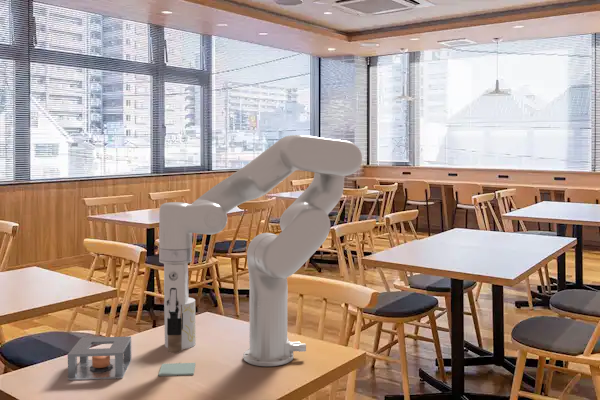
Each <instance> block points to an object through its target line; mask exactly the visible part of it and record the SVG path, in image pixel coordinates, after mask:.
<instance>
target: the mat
mask: <svg viewBox="0 0 600 400" xmlns="http://www.w3.org/2000/svg"><path fill="white" fill-rule="evenodd" d="M195 368H196V362H181V363H180V362H179V363H178V362H176V363H175V362H174V363H173V362H172V363H170V362H169V363H162V364H161V366H160V369H159V372H158V377H172V376H175V377H177V375H178V376H194V374H195Z"/></svg>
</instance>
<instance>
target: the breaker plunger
mask: <svg viewBox="0 0 600 400" xmlns="http://www.w3.org/2000/svg"><path fill="white" fill-rule="evenodd" d="M110 359H111V356H91V360H92V366H93V367H95V368H103V367H107V366H109V365H110Z"/></svg>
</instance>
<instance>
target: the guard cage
mask: <svg viewBox="0 0 600 400" xmlns="http://www.w3.org/2000/svg"><path fill="white" fill-rule="evenodd" d="M92 345H110V347H108V348H107V347H106V348H105V347H104V348H91V347H92ZM92 356H110V357H111V356H112V357H113V356H114V358H110V365H109V366H107V367H103V368H95V367H93V366H92V359H89V357H92ZM78 358H79V363H78ZM132 360H133V359H132V336H105V337H103V336H99V337H80V339H79V340H78V341H77V342H76V344H75V345H74V346H73V347H72V349H71V350H70V351H69V352H68V353H67V377H68V378H67V379H68V381H82V380H83V381H85V380H111V379H112V380H114V379H116V378H117V379H123V378H124V376H125V374H126V372H127V370H128V368H129V366H130V364H131V362H132Z"/></svg>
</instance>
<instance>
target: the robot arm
mask: <svg viewBox="0 0 600 400" xmlns="http://www.w3.org/2000/svg"><path fill="white" fill-rule="evenodd" d="M362 162H363V155H362V152H361V149H360V147H359V146H357V145H356V144H355V143H353V142H351V141H349V140H343V139H342V140H341V139H335V138H334V139H332V138H325V137H318V136H313V135H307V134H305V135H304V134H294V135H293V134H292V135H286V136H283V137H281V138H280V139H279V140H277V141H276V142H275V143H273V144H272V145H271V146H269V147H268V148H267V149H265V150H264V151H263V152H262V153H260V154H259V155H258V156H257V157H255V158H254V159H253V160H251V161H250V162H249V163H247V164H246V165H244V166H243V167H242V168H240V169H238V170H236V171H235V172H234V173H233V174H231V175H229V176H228V177H226V178H225V179H223V180H222V181H220V182H218V183H217V184H216V185H214V186H212V187H211V188H210V189H208V190H207V191H206V192H204V193H203V194H202V195H200V196H199V197H198V198H197V199H195V200H194V201H193V202H192V203H191V204H190V203H187V202H181V201H180V202H178V201H175V202H174V201H173V202H172V201H170V202H164V203H162V204H160V206H159V214H158V216H159V218H158V219H159V221H158V222H159V223H158V225H159V228H158V229H159V233H158V235H159V236H158V237H159V239H158V242H159V244H158V250H159V251H158V253H159V254H158V255H159V256H158V257H159V258H158V259H159V260H158V262H159V263H161V264H163V296H164V301H163V303H164V302H165V305H166V306H168V318H167V334H168V335H181V327H182V329H183V313H182V318H180V308H181V305H183V306H185V305H186V304H187V301H188V297H189V294H190V293H189V265H188V264H189V263H192V261H193V234H200V235H216V234H219V233H221V232H223V230H224V229H225V228H226V226H227V225H228V215H227V213H228V212H230V211H232V210H233V209H234V208H236V207H237V206H239V205H242V204H244V203H246V202H249V201H253V200H256V199H259V198H261V197H264V196H265V195H267V194H268V193H269V192H271V191H272V190H273V189H274V188H276V187H277V186H278V185H279V184H280V183H281V182H283V181H284V180H286V179H287V178H288V177H289V176H291V175H292V174H293V173H295V172H296V171H303V172H309V173H314V174H313V179H312V181H311V182H310V184H309V185H308V186H307V188H306V189H305V190H304V191H303V192H302V193H301V194H300V195H299V196H298V197H297V198H296V199H295V200H294V201H293V202H292V203H291V204H290V205H289V206H288V207H287V208H286V209H284V211H283V213H282V214H281V216H280V220H279V227H280V230H281V232H280V233H279V234H275V233H272V232H262V233H260V234H257V235H256V236H254V237H253V238H252V240H250V243H249V245H248V246H247V247H248V248H247V252H246V260H247V261H246V263H247V270H248V281H249V297H248V298H249V299H248V300H249V301H248V302H249V349H247V350H245V351H244V352H243V356H242V357H243V360H244V361H245V362H246V363H248V364H250V365H253V366H257V367H258V366H259V367H276V366H277V367H278V366H283V365H286V364H288V363H291V362H292V361H293V359H294V352H306V351H307V345H306V343H301V342H300V341H290V339H289V337H288V297H289V296H288V294H289V292H288V291H289V290H288V278H289V277H291V276H292V275H294V274H295V273H296V272H297V271H298V270H300V269H301V267H303V265H304V264H305V263H306V262H307V261H308V260H309V259H310V258H311V257H312V256H313V255H314V254H315V253H316V251H317V250H319V249H320V247H322V245H324V243H325V241H326V239H327V238H328V236H329V233H330V231H331V220H330V217H329V214H331V212H332V211H333V209H334V208H335V207H336V206H337V204H338V203H339V202H340V200H341V198H342V197H343V194H344V193H343V192H344V189H345V187H344V185H345V177H346V176H351V175H353V174H355V173H356V172H357V171H358V170H359V169H360V167H361V165H362ZM189 298H190V297H189ZM176 302H179V305H176ZM176 308H178V309H176Z"/></svg>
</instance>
